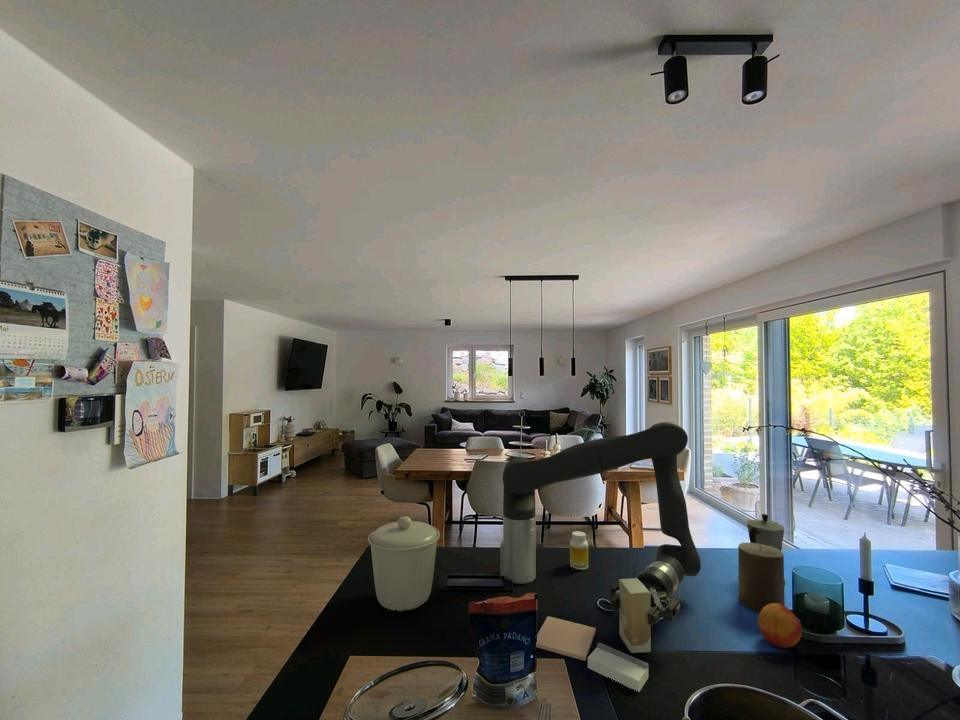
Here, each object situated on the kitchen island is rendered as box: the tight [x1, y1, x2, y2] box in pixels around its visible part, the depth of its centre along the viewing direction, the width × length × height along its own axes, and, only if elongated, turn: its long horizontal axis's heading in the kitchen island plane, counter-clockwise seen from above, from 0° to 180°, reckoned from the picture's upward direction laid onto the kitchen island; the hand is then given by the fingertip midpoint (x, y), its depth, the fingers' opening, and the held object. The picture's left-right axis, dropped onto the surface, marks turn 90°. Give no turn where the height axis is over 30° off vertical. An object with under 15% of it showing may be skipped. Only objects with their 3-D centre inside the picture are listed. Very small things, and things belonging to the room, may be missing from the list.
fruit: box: [757, 603, 803, 649], centre depth 92 cm, size 8×8×8 cm
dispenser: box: [587, 642, 650, 693], centre depth 83 cm, size 10×5×3 cm, turn 50°
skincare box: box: [618, 577, 652, 654], centre depth 90 cm, size 6×4×12 cm
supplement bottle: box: [569, 531, 589, 571], centre depth 129 cm, size 5×5×10 cm
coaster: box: [535, 615, 596, 662], centre depth 93 cm, size 11×11×1 cm
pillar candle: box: [737, 542, 786, 614], centre depth 108 cm, size 10×10×15 cm
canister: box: [367, 515, 441, 612], centre depth 109 cm, size 18×18×21 cm
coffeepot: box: [746, 513, 786, 585], centre depth 121 cm, size 15×9×18 cm, turn 125°
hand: (630, 613), depth 88 cm, fingers closed on skincare box, 7 cm apart
